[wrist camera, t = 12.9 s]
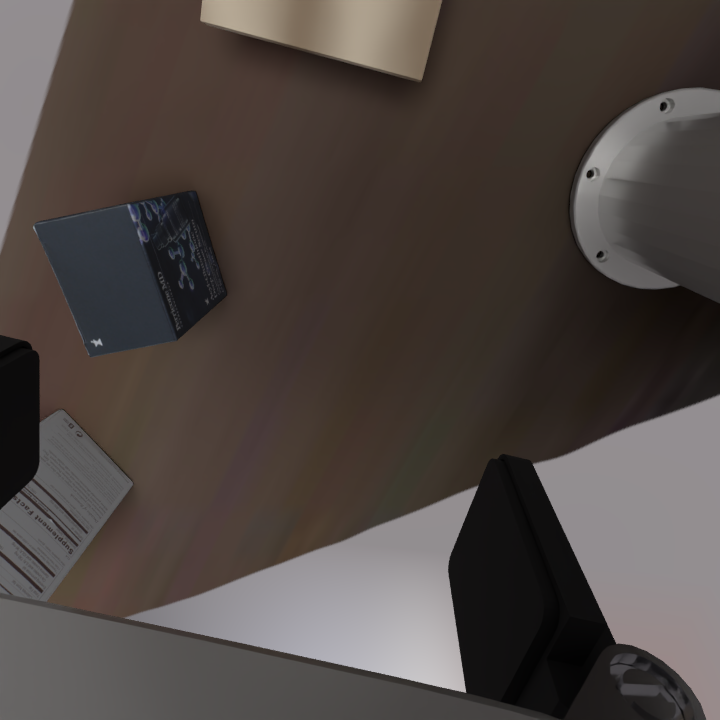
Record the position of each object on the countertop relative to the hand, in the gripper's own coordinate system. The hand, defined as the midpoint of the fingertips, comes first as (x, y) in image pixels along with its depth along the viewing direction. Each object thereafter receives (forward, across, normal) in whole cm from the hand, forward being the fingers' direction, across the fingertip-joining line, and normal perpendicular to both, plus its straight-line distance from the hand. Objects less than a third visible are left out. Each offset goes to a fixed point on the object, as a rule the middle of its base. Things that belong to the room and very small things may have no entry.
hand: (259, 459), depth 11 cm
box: (+29, +12, +4) cm, 31 cm away
